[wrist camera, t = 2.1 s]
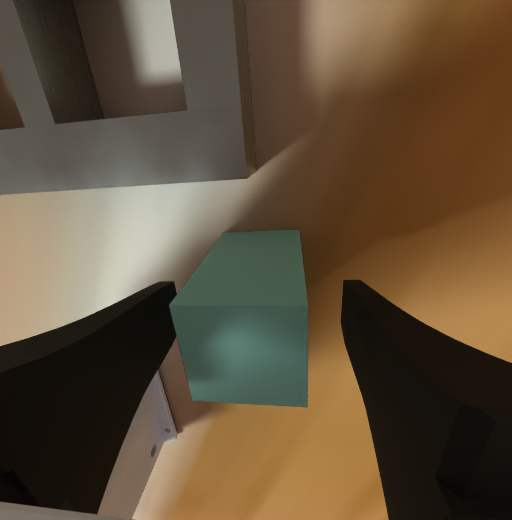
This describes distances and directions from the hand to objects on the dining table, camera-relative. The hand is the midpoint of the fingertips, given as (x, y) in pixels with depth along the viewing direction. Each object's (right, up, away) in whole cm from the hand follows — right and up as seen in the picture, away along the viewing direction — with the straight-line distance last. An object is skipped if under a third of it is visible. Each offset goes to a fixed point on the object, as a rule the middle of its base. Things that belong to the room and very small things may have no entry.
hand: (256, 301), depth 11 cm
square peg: (0, +1, +3) cm, 4 cm away
